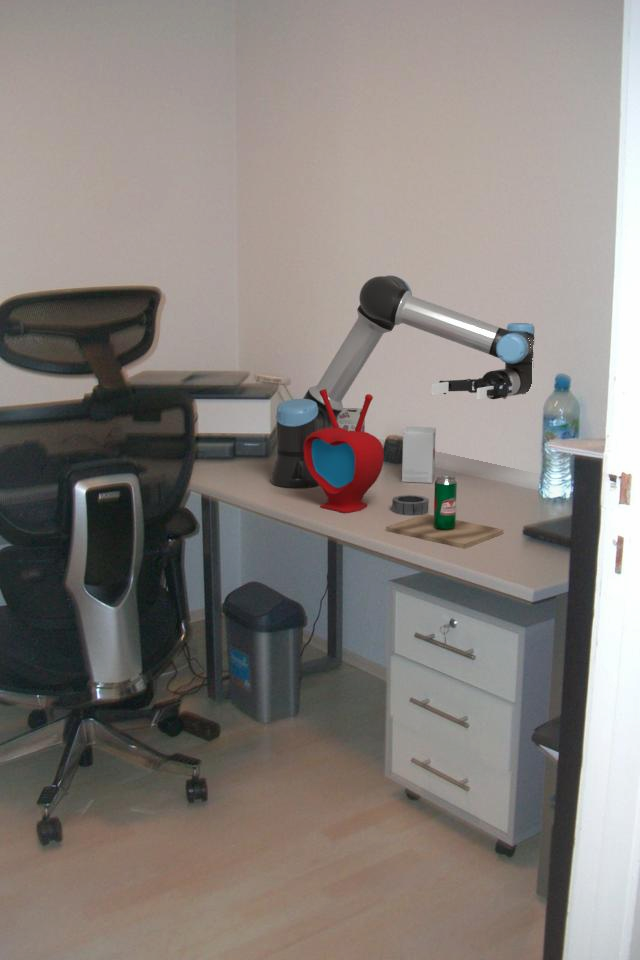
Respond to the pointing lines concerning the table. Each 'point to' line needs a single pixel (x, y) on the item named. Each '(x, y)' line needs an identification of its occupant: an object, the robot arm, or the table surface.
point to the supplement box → (418, 454)
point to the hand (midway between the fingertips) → (454, 391)
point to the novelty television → (344, 461)
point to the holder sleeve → (410, 505)
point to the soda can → (445, 503)
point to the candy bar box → (350, 419)
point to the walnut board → (445, 531)
